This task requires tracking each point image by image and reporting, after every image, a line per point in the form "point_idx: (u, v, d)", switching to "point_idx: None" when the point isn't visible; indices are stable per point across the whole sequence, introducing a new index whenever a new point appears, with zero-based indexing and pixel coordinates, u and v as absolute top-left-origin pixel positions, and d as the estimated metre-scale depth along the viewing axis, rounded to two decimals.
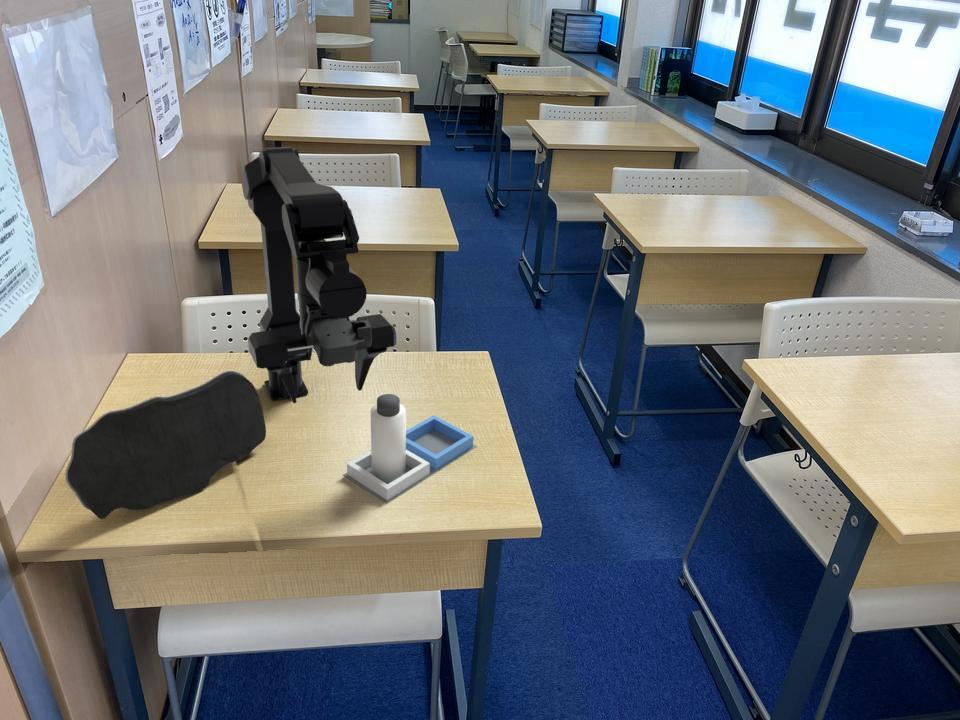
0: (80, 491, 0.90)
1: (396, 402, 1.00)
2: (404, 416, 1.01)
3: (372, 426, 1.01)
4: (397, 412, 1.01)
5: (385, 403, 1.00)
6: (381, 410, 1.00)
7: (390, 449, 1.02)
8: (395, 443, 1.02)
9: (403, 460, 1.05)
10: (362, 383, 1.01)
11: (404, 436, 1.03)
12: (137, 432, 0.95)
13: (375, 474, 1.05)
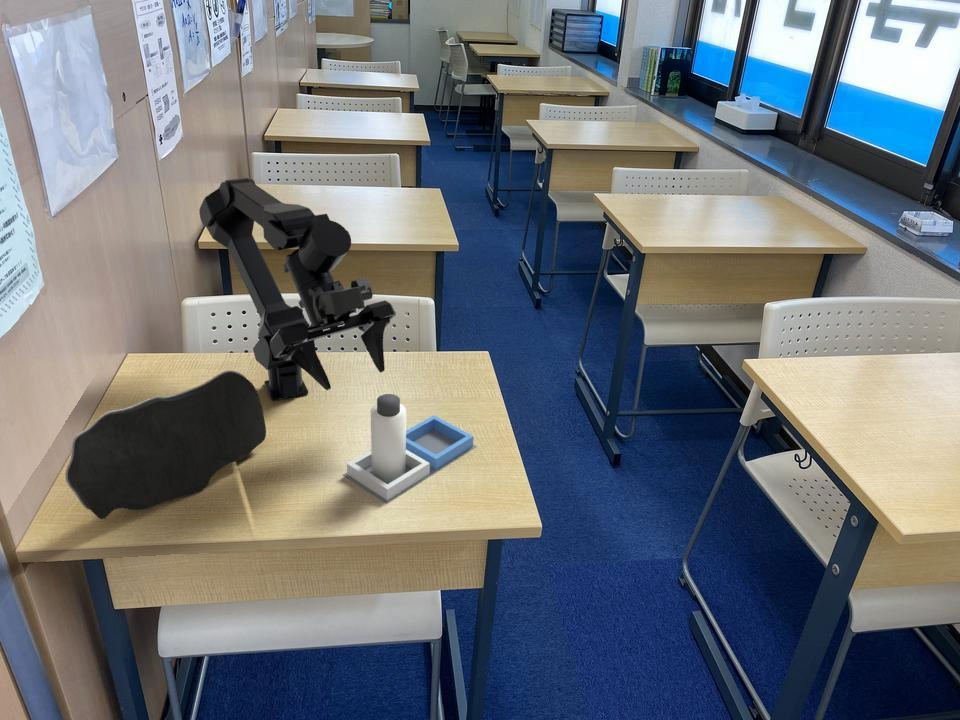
0: (80, 491, 0.90)
1: (396, 402, 1.00)
2: (404, 416, 1.01)
3: (372, 426, 1.01)
4: (397, 412, 1.01)
5: (385, 402, 1.00)
6: (381, 410, 1.00)
7: (390, 449, 1.02)
8: (395, 443, 1.02)
9: (403, 460, 1.05)
10: (382, 361, 1.09)
11: (404, 436, 1.03)
12: (137, 432, 0.95)
13: (375, 474, 1.05)
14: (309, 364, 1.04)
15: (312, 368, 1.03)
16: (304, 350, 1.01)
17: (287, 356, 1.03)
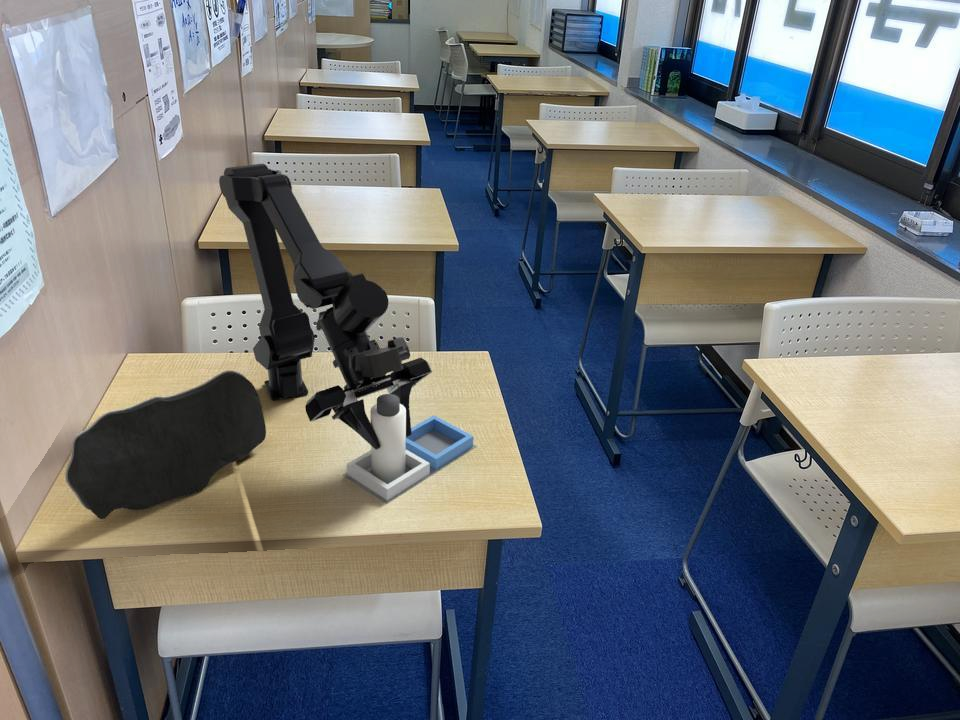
0: (80, 491, 0.90)
1: (396, 402, 1.00)
2: (404, 416, 1.01)
3: (372, 426, 1.01)
4: (397, 412, 1.01)
5: (385, 402, 1.00)
6: (381, 410, 1.00)
7: (390, 449, 1.02)
8: (394, 443, 1.02)
9: (403, 460, 1.05)
10: (409, 426, 1.04)
11: (404, 436, 1.03)
12: (137, 432, 0.95)
13: (375, 474, 1.05)
14: (358, 423, 1.01)
15: (361, 427, 1.01)
16: (353, 410, 0.99)
17: (335, 415, 1.01)
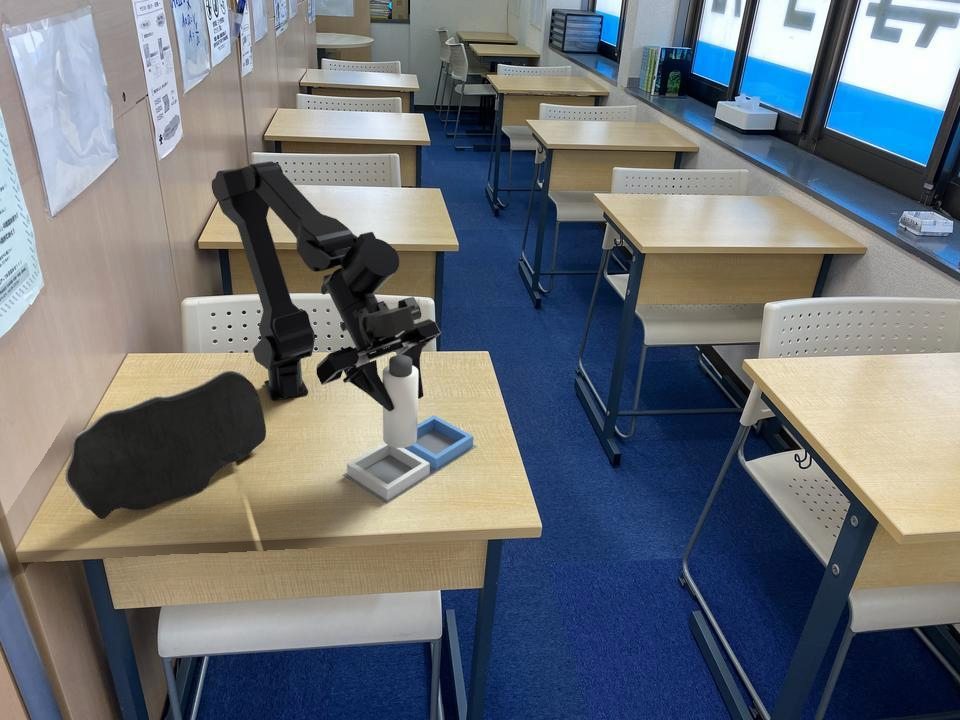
0: (80, 491, 0.90)
1: (409, 362, 0.99)
2: (417, 376, 1.00)
3: (385, 388, 1.00)
4: (410, 372, 1.00)
5: (398, 363, 0.99)
6: (394, 371, 0.99)
7: (403, 410, 1.01)
8: (408, 404, 1.01)
9: (416, 422, 1.04)
10: (421, 387, 1.03)
11: (417, 397, 1.02)
12: (137, 432, 0.95)
13: (387, 438, 1.03)
14: (370, 385, 1.00)
15: (374, 389, 1.00)
16: (367, 371, 0.98)
17: (347, 378, 0.99)
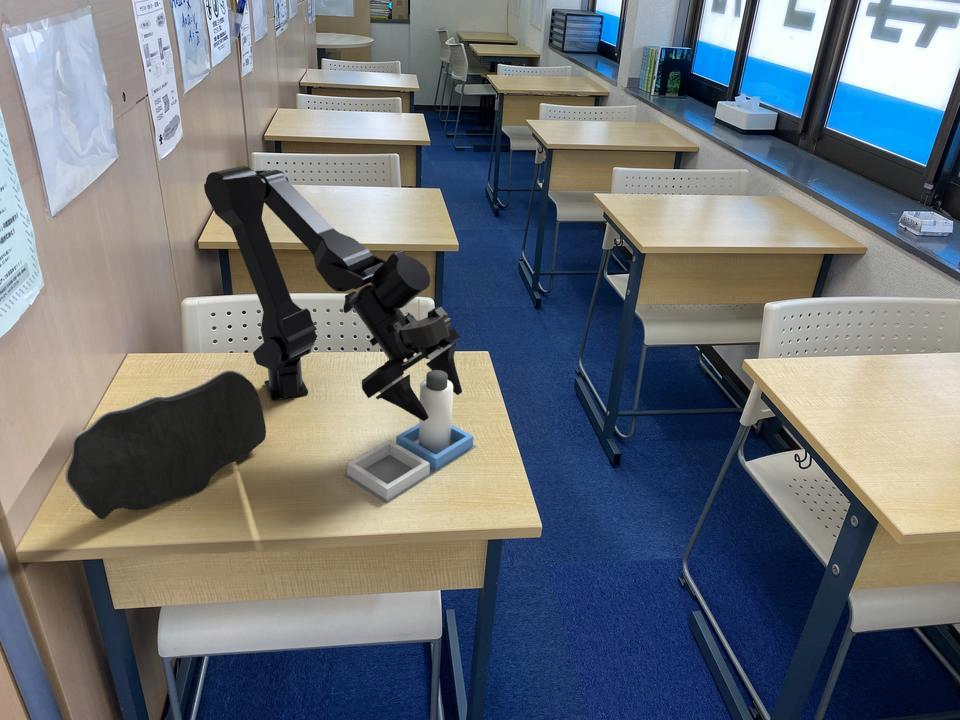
0: (80, 491, 0.90)
1: (445, 376, 1.08)
2: (452, 388, 1.09)
3: (425, 402, 1.08)
4: (446, 385, 1.08)
5: (436, 378, 1.07)
6: (434, 385, 1.07)
7: (443, 420, 1.09)
8: (447, 414, 1.09)
9: (450, 430, 1.12)
10: (459, 384, 1.13)
11: None
12: (137, 432, 0.95)
13: (426, 448, 1.11)
14: (403, 399, 1.05)
15: (408, 402, 1.05)
16: (403, 386, 1.03)
17: (382, 395, 1.04)
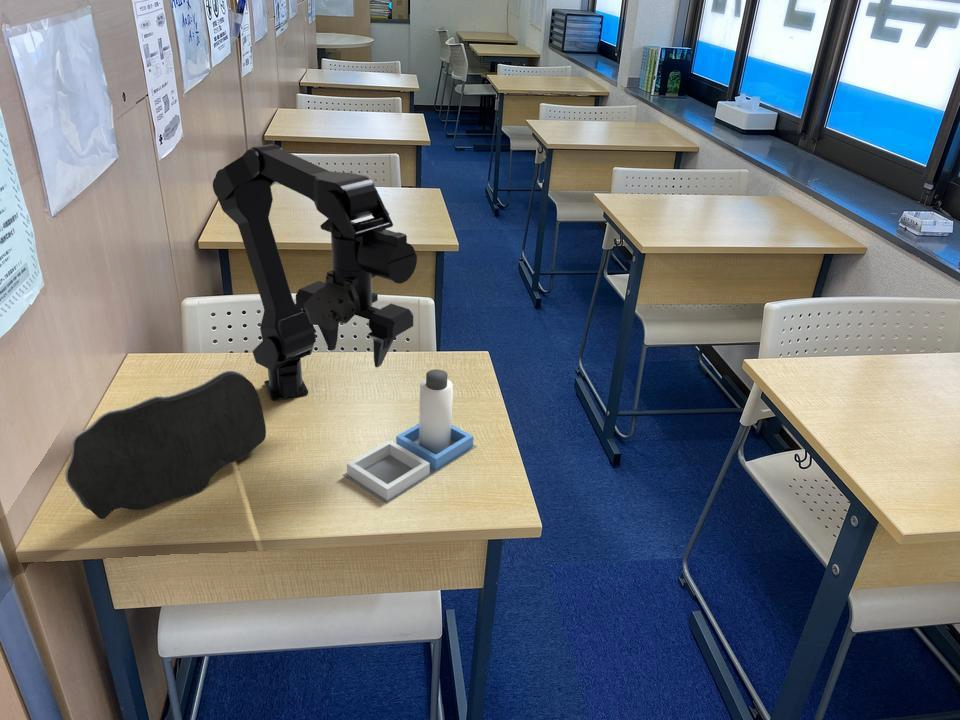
0: (80, 491, 0.90)
1: (445, 375, 1.08)
2: (452, 387, 1.09)
3: (424, 401, 1.08)
4: (446, 384, 1.08)
5: (436, 377, 1.07)
6: (433, 384, 1.07)
7: (442, 420, 1.09)
8: (446, 414, 1.09)
9: (450, 430, 1.12)
10: (376, 361, 1.10)
11: (451, 407, 1.11)
12: (137, 432, 0.95)
13: (426, 447, 1.11)
14: None
15: None
16: None
17: None
